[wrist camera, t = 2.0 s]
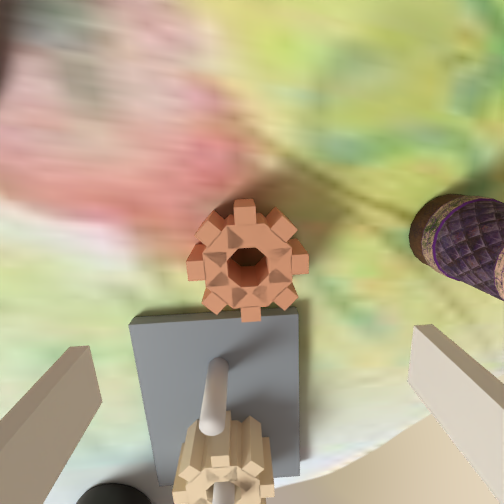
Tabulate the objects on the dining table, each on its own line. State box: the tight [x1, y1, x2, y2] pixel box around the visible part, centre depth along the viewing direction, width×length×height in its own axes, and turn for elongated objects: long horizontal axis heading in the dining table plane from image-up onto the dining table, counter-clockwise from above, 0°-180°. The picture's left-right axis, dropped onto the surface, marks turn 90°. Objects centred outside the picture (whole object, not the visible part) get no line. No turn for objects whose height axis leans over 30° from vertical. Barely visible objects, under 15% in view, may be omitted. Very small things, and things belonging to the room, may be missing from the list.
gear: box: [186, 199, 309, 322], centre depth 26 cm, size 9×9×5 cm
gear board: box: [129, 307, 300, 504], centre depth 28 cm, size 21×16×8 cm
